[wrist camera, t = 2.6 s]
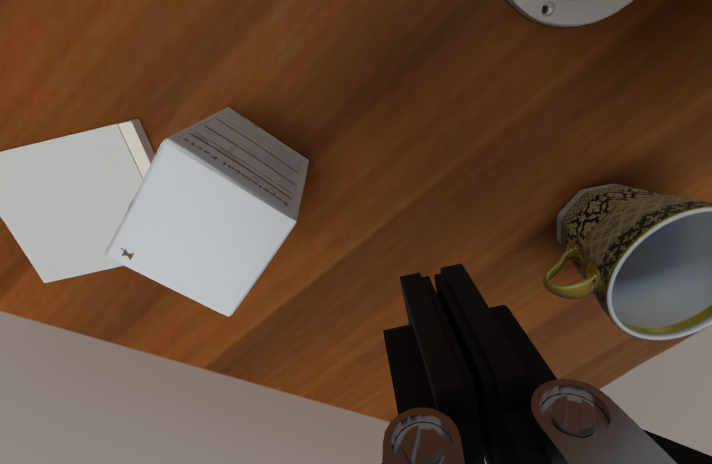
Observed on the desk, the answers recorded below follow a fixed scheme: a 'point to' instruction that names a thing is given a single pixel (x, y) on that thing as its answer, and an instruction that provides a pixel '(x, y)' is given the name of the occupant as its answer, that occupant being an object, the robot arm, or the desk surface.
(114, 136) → the mat
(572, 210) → the ceramic cup
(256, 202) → the supplement box
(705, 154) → the desk surface
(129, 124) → the strip
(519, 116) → the desk surface
